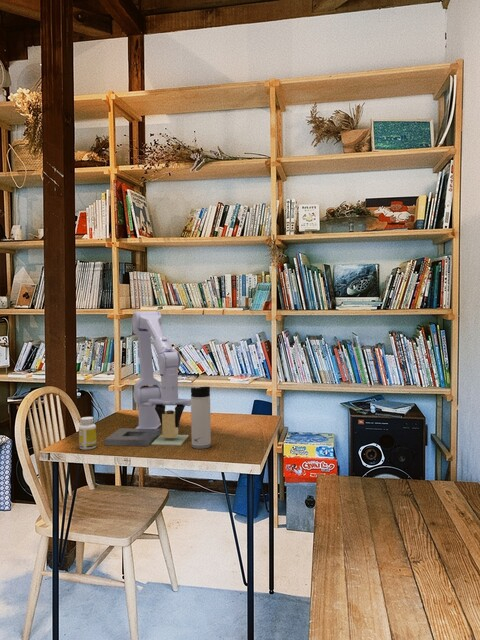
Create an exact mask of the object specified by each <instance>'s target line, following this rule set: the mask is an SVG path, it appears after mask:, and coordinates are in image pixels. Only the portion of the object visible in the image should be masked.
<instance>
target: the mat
mask: <svg viewBox="0 0 480 640" xmlns="http://www.w3.org/2000/svg"><path fill="white" fill-rule="evenodd" d="M188 437H189V434H178V435H177V436H176V437H175V438H162V434H161V435H160V436H159V437H158V438H157V439H156V440H155V441H153V442H152V443H151V444H150V445H151V446H180V447H181V446H182V445H183V443H184V442H185V441H186V440H187V439H188Z"/></svg>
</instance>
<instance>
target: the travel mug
mask: <svg viewBox="0 0 480 640" xmlns="http://www.w3.org/2000/svg"><path fill="white" fill-rule="evenodd" d="M190 399H191V406H190V421H191V422H190V423H191V433H190V434H191V448H193V449H197V450H198V449H199V450H204V449H207V448H208V449H209V448H210V447H211V446H212V441H211V440H212V439H211V435H212V431H211V428H212V427H211V387H210V386H199V387H190Z"/></svg>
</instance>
